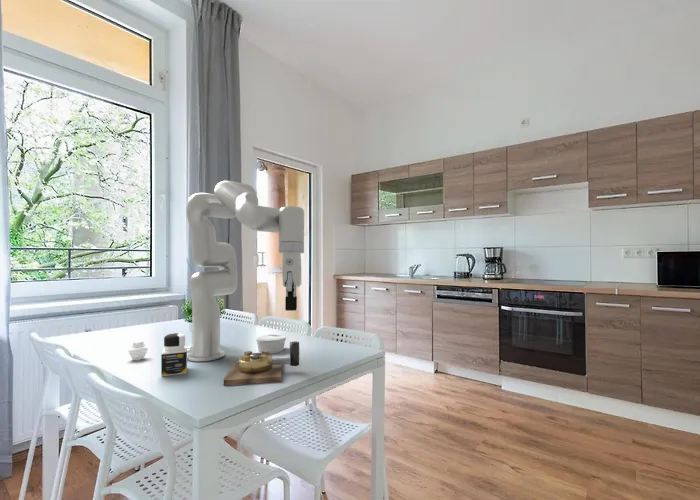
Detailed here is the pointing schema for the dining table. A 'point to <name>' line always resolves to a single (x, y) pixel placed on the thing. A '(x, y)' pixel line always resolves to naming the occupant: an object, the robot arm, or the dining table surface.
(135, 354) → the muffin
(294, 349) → the brass valve
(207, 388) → the dining table surface
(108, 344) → the dining table surface
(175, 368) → the medicine bottle
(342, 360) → the dining table surface
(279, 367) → the walnut board
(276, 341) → the ramekin
